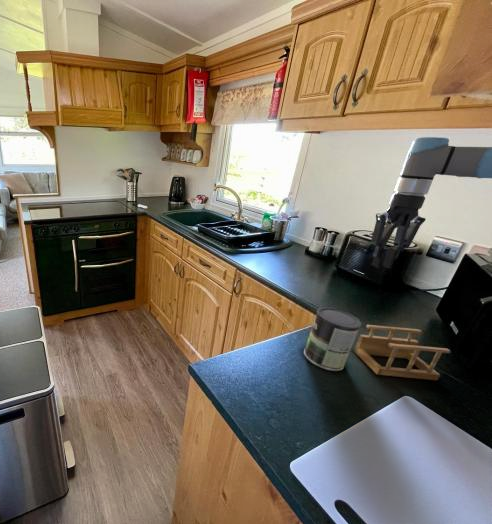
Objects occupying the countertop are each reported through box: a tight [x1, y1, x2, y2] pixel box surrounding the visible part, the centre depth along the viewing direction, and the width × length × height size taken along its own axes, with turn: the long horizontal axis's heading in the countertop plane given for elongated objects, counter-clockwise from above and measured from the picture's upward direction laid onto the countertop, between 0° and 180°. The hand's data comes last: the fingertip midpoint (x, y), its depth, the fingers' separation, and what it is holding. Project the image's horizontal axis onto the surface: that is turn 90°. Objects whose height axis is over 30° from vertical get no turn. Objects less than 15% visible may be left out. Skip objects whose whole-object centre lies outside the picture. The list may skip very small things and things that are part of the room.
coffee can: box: [303, 306, 362, 372], centre depth 81 cm, size 10×10×14 cm
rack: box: [353, 324, 451, 381], centre depth 81 cm, size 10×16×10 cm, turn 86°
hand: (380, 266), depth 94 cm, fingers open, 3 cm apart
